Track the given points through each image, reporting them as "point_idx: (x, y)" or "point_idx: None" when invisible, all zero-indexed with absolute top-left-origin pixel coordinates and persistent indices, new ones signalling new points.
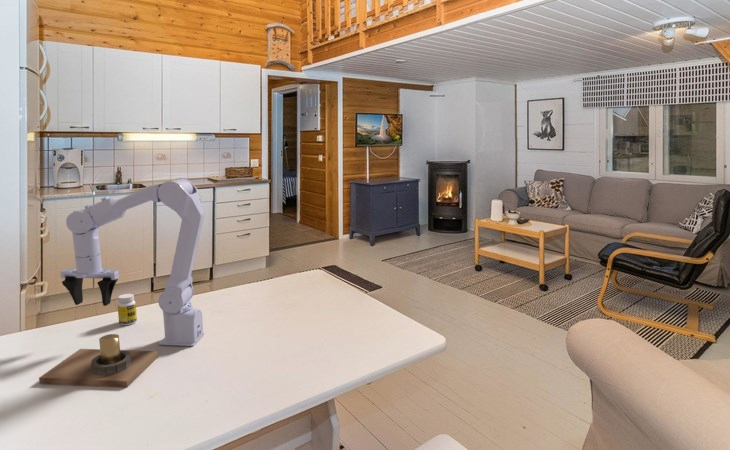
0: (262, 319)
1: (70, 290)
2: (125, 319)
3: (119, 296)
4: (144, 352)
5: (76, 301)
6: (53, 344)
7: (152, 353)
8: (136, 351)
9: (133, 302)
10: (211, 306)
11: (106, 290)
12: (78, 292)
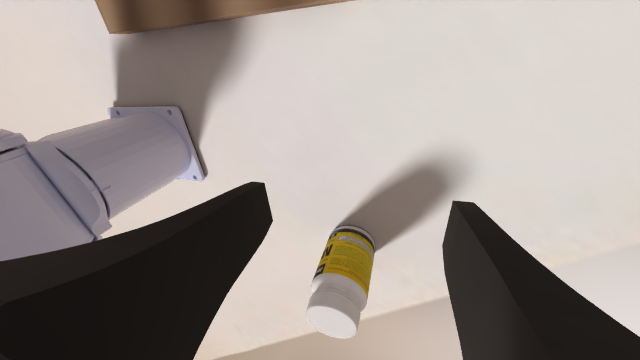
0: (116, 229)
1: (576, 322)
2: (340, 237)
3: (351, 323)
4: (130, 16)
5: (460, 213)
6: (552, 75)
7: (108, 14)
8: (156, 19)
9: (312, 292)
10: (230, 291)
11: (115, 238)
12: (473, 310)
